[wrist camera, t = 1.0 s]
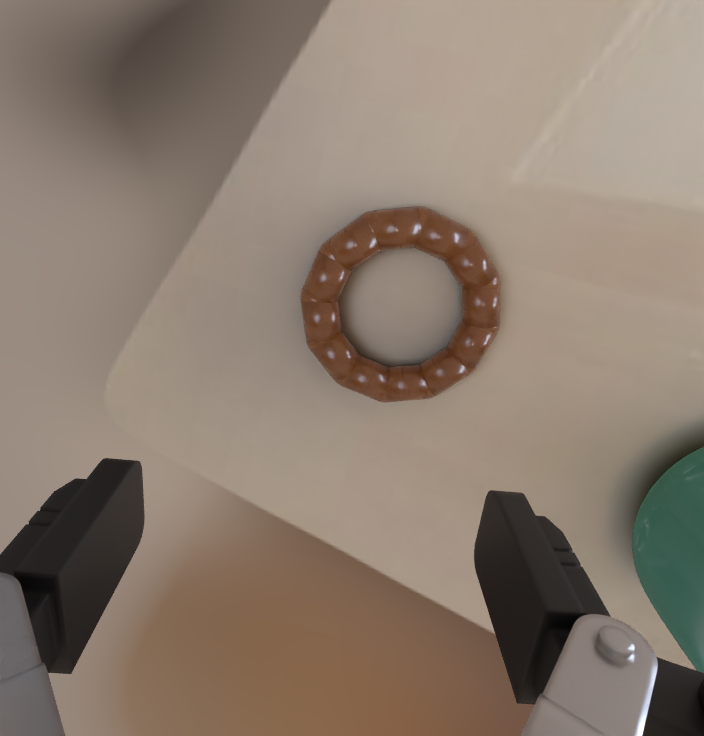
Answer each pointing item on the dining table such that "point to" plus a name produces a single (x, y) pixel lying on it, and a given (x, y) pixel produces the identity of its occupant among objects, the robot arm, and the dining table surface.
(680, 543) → the mug
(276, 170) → the dining table surface
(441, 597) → the dining table surface
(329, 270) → the ring
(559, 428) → the dining table surface
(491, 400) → the dining table surface
